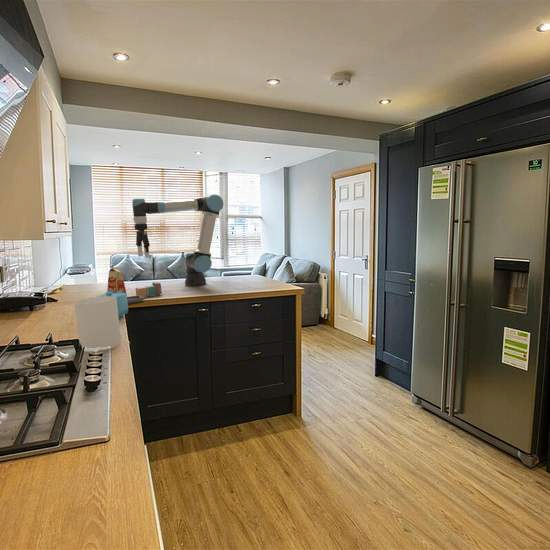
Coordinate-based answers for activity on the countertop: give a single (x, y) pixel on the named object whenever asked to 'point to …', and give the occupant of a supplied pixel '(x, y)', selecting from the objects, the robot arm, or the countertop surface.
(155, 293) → the teal brown block
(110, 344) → the container
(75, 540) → the countertop surface
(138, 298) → the tray
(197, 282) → the robot arm
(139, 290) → the stub
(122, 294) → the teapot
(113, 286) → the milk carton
